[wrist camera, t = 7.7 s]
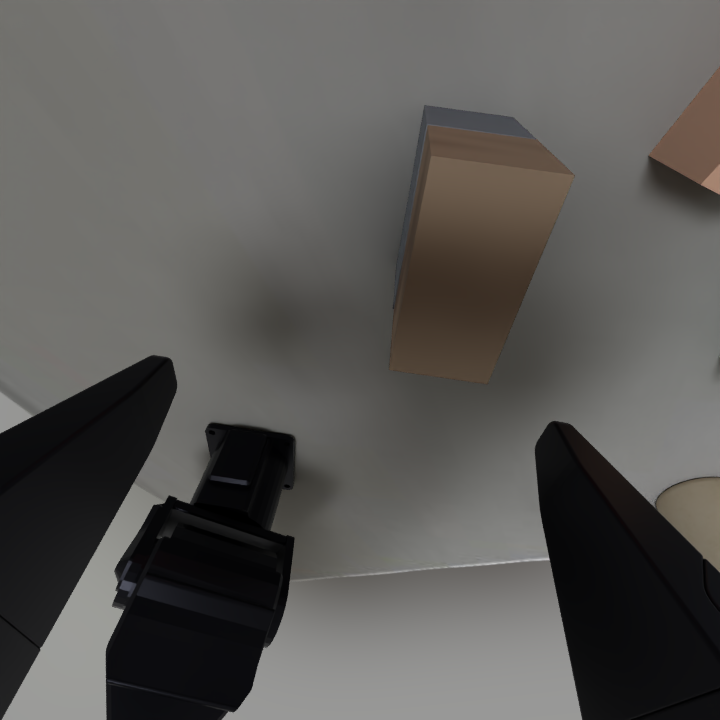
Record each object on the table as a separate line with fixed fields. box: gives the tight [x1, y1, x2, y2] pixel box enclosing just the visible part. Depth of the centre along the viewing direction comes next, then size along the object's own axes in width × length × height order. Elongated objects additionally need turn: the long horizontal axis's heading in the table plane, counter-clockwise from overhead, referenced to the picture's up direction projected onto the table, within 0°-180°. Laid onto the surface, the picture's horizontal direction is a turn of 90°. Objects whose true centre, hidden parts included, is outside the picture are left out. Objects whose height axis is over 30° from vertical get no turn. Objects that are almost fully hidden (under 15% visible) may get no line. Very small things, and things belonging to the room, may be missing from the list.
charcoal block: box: [393, 105, 536, 309], centre depth 17 cm, size 7×4×4 cm, turn 174°
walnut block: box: [389, 125, 575, 384], centre depth 14 cm, size 7×4×4 cm, turn 174°
